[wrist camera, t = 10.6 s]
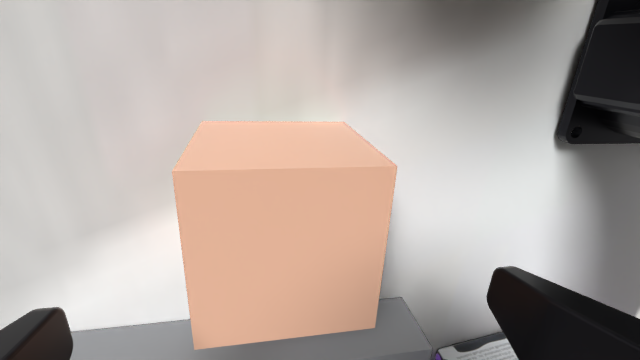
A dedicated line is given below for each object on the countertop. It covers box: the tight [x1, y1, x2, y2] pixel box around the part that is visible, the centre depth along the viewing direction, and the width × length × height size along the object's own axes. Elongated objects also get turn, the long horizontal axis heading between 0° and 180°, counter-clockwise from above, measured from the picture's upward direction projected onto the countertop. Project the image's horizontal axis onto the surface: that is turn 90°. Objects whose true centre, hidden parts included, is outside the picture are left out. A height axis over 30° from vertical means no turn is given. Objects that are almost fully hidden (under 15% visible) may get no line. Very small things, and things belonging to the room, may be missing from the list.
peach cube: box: [172, 121, 397, 350], centre depth 11 cm, size 5×5×5 cm
